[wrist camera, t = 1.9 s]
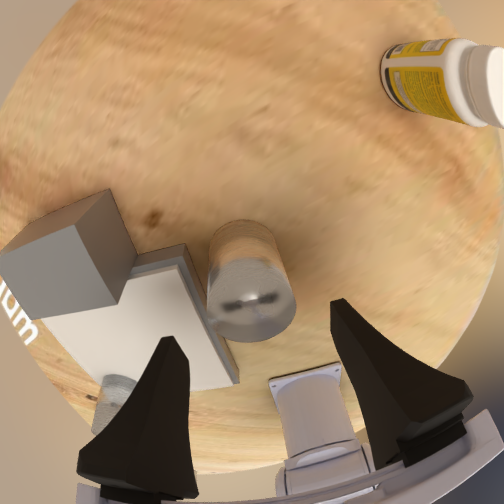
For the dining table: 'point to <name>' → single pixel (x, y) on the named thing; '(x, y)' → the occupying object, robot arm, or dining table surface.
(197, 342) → the scale
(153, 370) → the robot arm
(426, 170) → the dining table surface
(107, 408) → the cylinder
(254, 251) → the cylinder
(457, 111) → the supplement bottle
